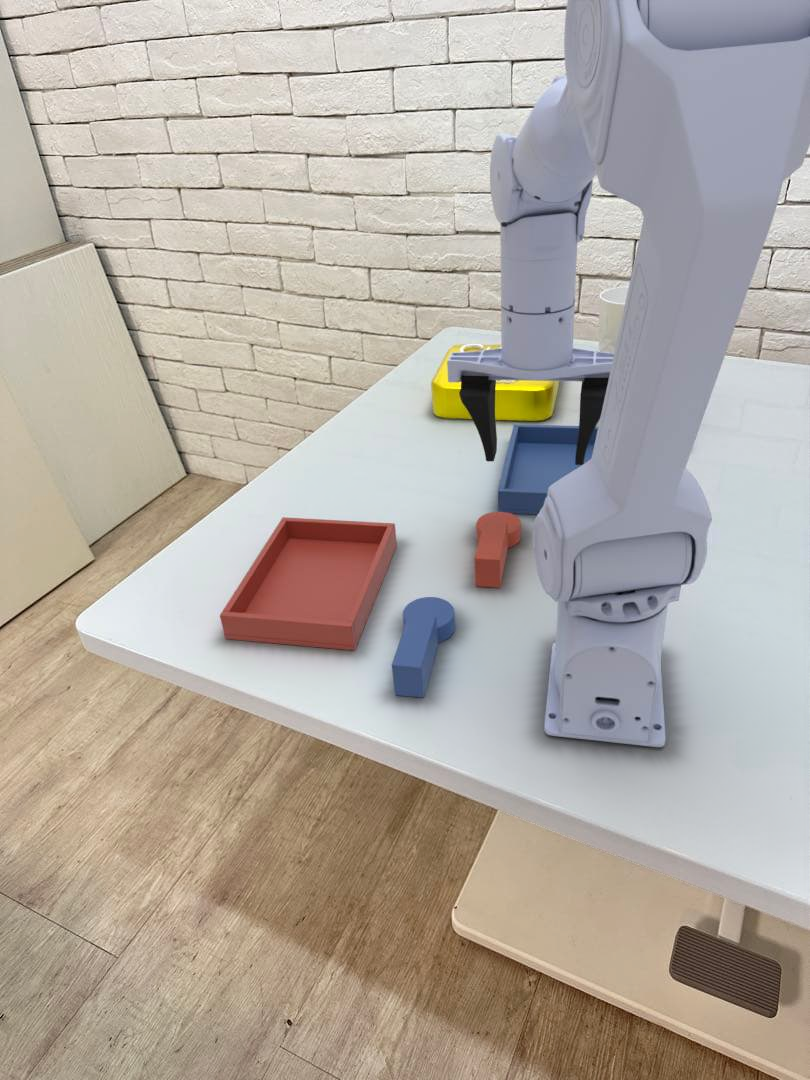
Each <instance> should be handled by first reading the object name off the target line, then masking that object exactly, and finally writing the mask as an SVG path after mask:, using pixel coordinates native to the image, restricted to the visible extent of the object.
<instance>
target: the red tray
mask: <svg viewBox="0 0 810 1080" xmlns="http://www.w3.org/2000/svg"><path fill="white" fill-rule="evenodd" d="M397 546H398V542H397V532H396V523H394V522H377V521H376V522H375V521H356V520H342V519H341V520H339V519H322V518H321V519H320V518H302V517H284V516H283V517H282V518H281V519H280V521H279V522H278V524H277V526H276V527H275V529H273V532H272V533H271V535H270V537H269V538H267V541H266V542H265V544H264V546H263V547H262V549H261V550H260V552H259V553H258V555H257V556H256V558H255V559H254V561H253V562H252V564H251V566H250V567H249V569H248V571H247V572H246V574H245V575H244V576H243V579H242V580H241V582H240V583H239V584H238V586H237V587H236V589H235V590H234V592H233V593H232V596H231V597H230V598H229V600H228V602H227V603H226V605H225V606H224V608H223V609H222V611H221V612H220V614H219V618H220V622H221V627H222V630H223V634H224V638H225V640H227V639H228V640H235V641H245V642H246V641H247V642H256V643H267V644H268V643H269V644H277V645H278V644H279V645H290V646H300V647H302V646H303V647H311V648H322V649H334V650H342V651H343V650H344V651H356V649H357V646H358V643H359V641H360V638H361V636H362V633H363V631H364V628H365V626H366V624H367V621H368V618H369V616H370V614H371V611H372V608H373V606H374V604H375V601H376V598H377V596H378V594H379V591H380V588H381V586H382V585H383V584H382V583H383V581H384V579H385V576H386V573H387V571H388V569H389V566H390V564H391V561H392V559H393V556H394V554H395V551H396V549H397Z"/></svg>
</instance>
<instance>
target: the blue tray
mask: <svg viewBox="0 0 810 1080" xmlns="http://www.w3.org/2000/svg"><path fill="white" fill-rule="evenodd" d="M597 431H598V426H596V427H595V429H594V431H593V433H592V436H591V438H590V441H589V444H588V447H587V450H586V453H585V458H584V464H585V463H586V462H588V461H589V460H590V459H591V458H592V454H593V449H594V445H595V440H596V436H597ZM578 432H579V425H557V424H555V425H554V424H521V423H520V424H518V423H517V424H515V423H514V424H513V425H512V431H511V434H510V438H509V442H508V447H507V451H506V456H505V459H504V462H503V463H504V464H503V467H502V472H501V475H500V476H501V477H500V480H499V483H498V489H497V512H507V513H511V514H519V515H520V514H521V515H523V514H524V515H538V514H539V512H540V510H541V508H542V507H543V505H544V502H545V499H546V497H547V494H548V488H549V487H550V486H551V485H552V484H553V483H555V482H556V481H558V480H560V479H561V478H563V477H564V476H566V475H567V474H569V473H571V472H572V471H574V470H575V469H577V468H579V467H580V466H582V465H575V456H576V447H577V439H578Z"/></svg>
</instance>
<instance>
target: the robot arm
mask: <svg viewBox="0 0 810 1080" xmlns="http://www.w3.org/2000/svg"><path fill="white" fill-rule="evenodd" d="M563 32H564V34H563V35H564V37H563V50H564V51H563V52H564V68H565V75H556V76H555V77H554V78H553V80H552V81H551V84H550V85H548V86H547V88H545V90H544V91H543V92H542V93H541V95H540V96H539V97H538V98H537V101H536V103H535V104H534V106H533V107H532V109H531V112H530V113H529V115H528V117H527V118H526V120H525V122H524V124H523V125H522V127H521V129H520V131H519V132H518V134H517V135H510V134H509V133H498V134H497V135H496V136H495V138H494V142H493V144H492V147H491V153H490V161H489V165H490V166H489V189H490V197H491V202H492V208H493V213H494V215H495V218H496V220H497V222H498V223H500V224H499V228H500V234H499V235H500V237H499V239H500V332H501V333H500V337H501V339H500V341H501V342H500V343H501V344H500V345H501V348H498V349H489V350H480V351H471V352H452V353H451V354H450V356H449V358H448V360H447V369H448V382H461V389H460V392H459V395H460V399H461V402H462V403H463V405H464V406H465V408H466V409H467V411H468V412H469V414H470V416H471V418H472V419H471V420H472V422H473V424H474V426H475V428H476V430H477V433H478V435H479V438H480V442H481V445H482V447H483V448H482V449H483V452H484V456H485V461H486V462H495V459H496V455H497V451H498V435H497V424H496V423H497V422H496V421H497V420H495V390H496V380H530V381H560V382H581V388H580V397H579V423H578V424H579V425H578V426H579V432H578V439H577V447H576V456H575V465H582V466H580V467H579V468H577V469H575V470H574V471H572V472H571V473H569V474H567V475H566V476H564V477H563V478H561V479H560V480H558V481H556V482H555V483H553V484H552V485H551V486H550V487H549V488H548V494H547V497H546V499H545V502H544V505H543V507H542V508H541V510H540V512H539V514H536V517H535V518H534V521H533V526H532V546H533V555H534V563H535V566H536V571H537V575H538V579H539V582H540V585H541V587H542V589H543V591H544V592H545V593H546V594H547V596H549V597H550V598H551V599H552V600H553V601H554V602H556V603H557V607H556V608H557V610H556V633H555V635H556V636H555V641H554V642H553V643H552V645H551V652H550V653H551V654H550V664H549V665H550V666H549V675H548V683H547V692H546V693H547V694H546V704H545V714H544V724H543V731H544V733H545V734H546V735H548V736H551V737H552V736H553V737H561V738H568V739H569V738H570V739H577V740H578V739H580V740H587V741H597V742H607V743H615V744H626V745H634V746H641V747H642V746H643V747H651V748H663V747H664V746H665V745H666V739H667V738H666V737H667V736H666V721H665V720H666V719H665V709H664V693H663V691H664V690H663V678H662V676H663V675H662V662H661V661H662V659H661V658H662V651H663V644H664V637H665V629H666V622H667V615H668V608H669V604H671V603H674V602H675V603H676V602H679V600H680V596H681V589H682V585H686V586H687V585H692V584H694V583H695V582H696V581H697V580H698V579H699V577H700V575H701V573H702V571H703V569H704V567H705V564H706V561H707V555H708V536H709V535H708V534H709V529H710V526H711V524H712V522H713V517H712V512H711V509H710V506H709V503H708V501H707V497H706V495H705V493H704V491H703V489H702V487H701V485H700V483H699V482H698V480H697V479H696V477H695V476H694V475H693V473H691V471H689V469H687V468H686V467H687V465H688V462H689V458H690V456H691V453H692V451H693V447H694V445H695V442H696V439H697V436H698V432H699V430H700V428H701V425H702V421H703V419H704V416H705V413H706V411H707V408H708V405H709V402H710V399H711V397H712V392H713V391H714V388H715V385H716V382H717V379H718V376H719V373H720V371H721V368H722V365H723V363H724V359H725V356H726V354H727V351H728V349H729V345H730V343H731V339H732V337H733V334H734V331H735V328H736V325H737V323H738V319H739V317H740V314H741V311H742V309H743V305H744V303H745V300H746V297H747V294H748V291H749V289H750V285H751V283H752V280H753V278H754V274H755V271H756V269H757V267H758V263H759V260H760V257H761V254H762V251H763V248H764V246H765V243H766V241H767V237H768V234H769V231H770V228H771V226H772V223H773V220H774V216H775V213H776V210H777V206H778V203H779V199H780V196H781V191H782V187H783V183H784V182H785V181H786V180H787V179H789V177H791V175H793V174H794V173H796V171H798V170H799V169H800V168H801V167H802V166H803V165H804V161H805V159H806V157H807V153H808V151H809V148H810V0H567V2H566V9H565V17H564V31H563ZM596 177H597V180H598V184H599V186H600V188H601V189H602V190H604V191H606V192H608V193H610V194H612V195H614V196H615V197H618V198H620V199H622V200H624V201H626V202H627V203H629V204H631V205H633V206H635V207H637V208H638V209H640V211H641V214H642V219H643V220H642V223H641V224H642V225H641V230H640V233H639V239H638V243H637V247H636V252H635V257H634V261H633V266H632V270H631V275H630V280H629V284H628V286H629V288H628V293H627V298H626V302H625V307H624V311H623V316H622V321H621V325H620V330H619V334H618V339H617V344H616V348H615V353H606V352H600V351H597V350H591V349H583V348H575V347H574V330H575V329H574V328H575V308H576V307H575V306H576V302H575V301H576V285H577V284H576V282H577V258H578V243H579V242H581V241H583V239H584V235H585V230H586V229H585V226H586V218H587V217H586V215H587V212H588V209H589V207H590V203H591V198H592V192H593V183H594V178H596ZM599 419H600V422H599V426H598V431H597V436H596V440H595V445H594V449H593V454H592V458H591V459H590V460H589V461H588V462H586V463H585V464H584V458H585V453H586V450H587V447H588V444H589V441H590V438H591V436H592V433H593V431H594V429H595V427H596V425H597V423H598V421H599Z"/></svg>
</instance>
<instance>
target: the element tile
mask: <svg viewBox="0 0 810 1080" xmlns="http://www.w3.org/2000/svg"><path fill="white" fill-rule="evenodd" d="M498 348H501V344H480V343H469V344H468V343H467V344H463V343H462V344H461V343H460V344H455V345H452V346H451V347H450V348H449V349H448V350H447V352H446V354H445V355H444V357H443V359H442V361H441V363H440V364H439V366H438V368H437V370H436V372H435V374H434V376H433V378H432V380H431V383H430V387H431V388H430V390H431V403H432V412H433V414H434V415H435V416H436V417H438V418H442V419H453V420H454V419H455V420H472V418H471V416H470V414H469V412H468V411H467V409H466V408H465V406H464V405H463V403H462V402H461V399H460V395H459V392H460V389H461V382H448V369H447V360H448V358H449V356H450V354H451V353H452V352H471V351H480V350H489V349H498ZM560 383H561V381H530V380H496V390H495V421H512V422H513V421H517V422H540V421H541V422H542V421H545V420H549V418H551V417H552V416H553V414H554V410H555V405H556V401H557V396H558V391H559V387H560Z"/></svg>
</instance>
